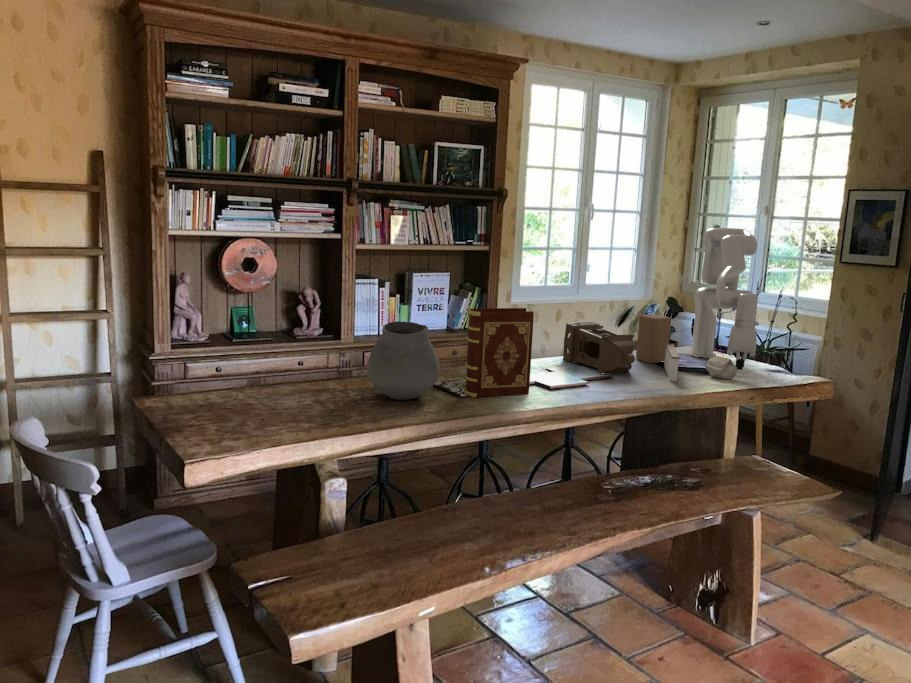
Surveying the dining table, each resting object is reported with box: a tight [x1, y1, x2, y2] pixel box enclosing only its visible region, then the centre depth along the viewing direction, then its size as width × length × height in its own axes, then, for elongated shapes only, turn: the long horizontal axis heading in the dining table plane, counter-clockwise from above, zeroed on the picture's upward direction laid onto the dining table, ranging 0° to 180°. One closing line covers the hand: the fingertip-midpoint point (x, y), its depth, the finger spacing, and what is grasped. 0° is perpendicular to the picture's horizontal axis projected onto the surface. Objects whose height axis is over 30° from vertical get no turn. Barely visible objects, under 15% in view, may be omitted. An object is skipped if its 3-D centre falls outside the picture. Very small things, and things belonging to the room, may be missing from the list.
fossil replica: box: [705, 355, 738, 380], centre depth 298 cm, size 12×8×10 cm
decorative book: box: [464, 307, 535, 398], centre depth 259 cm, size 22×8×30 cm, turn 106°
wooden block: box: [635, 313, 672, 364], centre depth 323 cm, size 10×10×20 cm
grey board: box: [663, 343, 681, 382], centre depth 301 cm, size 27×3×10 cm, turn 169°
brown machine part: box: [562, 320, 637, 374], centre depth 304 cm, size 35×18×18 cm, turn 28°
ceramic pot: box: [367, 320, 441, 401], centre depth 250 cm, size 24×24×25 cm
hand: (739, 368), depth 297 cm, fingers closed
